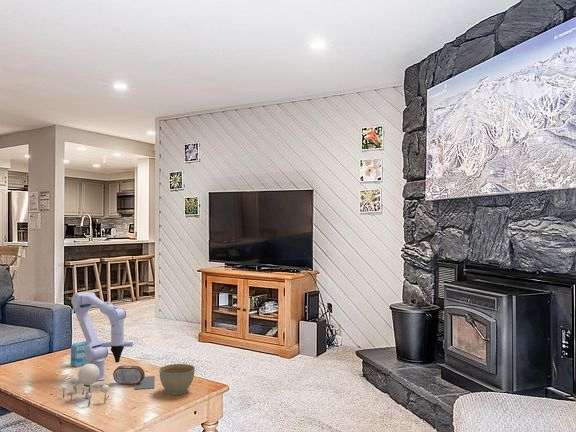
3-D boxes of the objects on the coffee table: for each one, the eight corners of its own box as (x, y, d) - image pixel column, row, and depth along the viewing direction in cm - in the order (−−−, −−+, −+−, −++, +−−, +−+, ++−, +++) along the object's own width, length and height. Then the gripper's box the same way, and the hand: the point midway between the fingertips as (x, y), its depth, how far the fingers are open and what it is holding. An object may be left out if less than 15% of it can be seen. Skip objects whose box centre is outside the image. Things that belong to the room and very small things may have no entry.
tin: (145, 382, 233) (144, 365, 233) (142, 384, 230) (142, 367, 230) (115, 382, 235) (114, 365, 235) (112, 384, 232) (111, 367, 232)
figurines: (115, 401, 210) (116, 366, 211) (92, 410, 200) (92, 373, 201) (80, 390, 224) (81, 357, 224) (56, 397, 214) (57, 363, 214)
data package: (74, 367, 257) (75, 345, 258) (70, 366, 260) (70, 344, 260) (95, 363, 267) (95, 341, 267) (90, 361, 270) (91, 340, 270)
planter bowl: (201, 392, 223) (201, 368, 223) (170, 401, 211) (171, 376, 212) (182, 383, 234) (182, 361, 234) (152, 391, 223) (152, 368, 223)
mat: (134, 389, 225) (134, 389, 225) (136, 378, 242) (136, 377, 242) (154, 388, 227) (154, 387, 227) (154, 376, 244) (154, 375, 244)
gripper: (134, 331, 238) (134, 359, 238) (105, 332, 238) (105, 360, 237) (130, 334, 231) (130, 363, 230) (99, 335, 231) (100, 363, 230)
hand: (117, 361), depth 233 cm, fingers closed
